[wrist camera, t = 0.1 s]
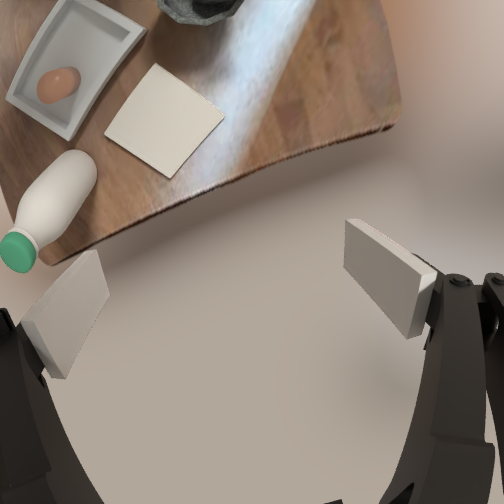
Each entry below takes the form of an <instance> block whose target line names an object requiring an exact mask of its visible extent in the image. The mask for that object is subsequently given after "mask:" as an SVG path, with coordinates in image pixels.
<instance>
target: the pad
mask: <svg viewBox="0 0 504 504" xmlns="http://www.w3.org/2000/svg"><path fill="white" fill-rule="evenodd" d="M224 117H225V114H224V113H223V112H221V111H220V110H219V109H218V108H216V107H215V106H214V105H213V104H211V103H210V102H209V101H207V100H206V99H205V98H204V97H202V96H201V95H200V94H198V93H197V92H196V91H194V90H193V89H192V88H190V87H189V86H188V85H186V84H185V83H184V82H182V81H181V80H180V79H178V78H177V77H175V76H174V75H173V74H171V73H170V72H168V71H167V70H166V69H164V68H163V67H161V66H160V65H158V64H157V63H155V64H154V65H153V66H152V68H151V69H150V70H149V71H148V72H147V74H146V75H145V76H144V77H143V79H142V80H141V81H140V83H139V84H138V85H137V87H136V88H135V89H134V91H133V92H132V93H131V95H130V96H129V97H128V99H127V100H126V102H125V103H124V104H123V106H122V107H121V109H120V110H119V112H118V113H117V115H116V116H115V118H114V119H113V121H112V122H111V124H110V125H109V127H108V128H107V130H106V132H105V133H104V135H106V136H107V137H109V138H110V139H112V140H113V141H115V142H116V143H118V144H119V145H121V146H122V147H124V148H125V149H127V150H128V151H130V152H131V153H133V154H134V155H136V156H137V157H139V158H140V159H142V160H143V161H145V162H146V163H148V164H149V165H151V166H152V167H154V168H155V169H157V170H158V171H160V172H161V173H163V174H164V175H165V176H167V177H168V178H171V177H172V176H173V175H174V173H175V172H176V171H177V170H178V169H179V167H180V166H181V165H182V164H183V163H184V161H185V160H186V159H187V158H188V157H189V156H190V154H191V153H192V152H193V151H194V150H195V149H196V148H197V146H198V145H199V144H200V143H201V142H202V141H203V140H204V139H205V137H206V136H207V135H208V134H209V133H210V132H211V131H212V130H213V129H214V128H215V127H216V125H217V124H218V123H219V122H220V121H221V120H222V119H223V118H224Z"/></svg>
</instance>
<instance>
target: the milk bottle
mask: <svg viewBox="0 0 504 504" xmlns="http://www.w3.org/2000/svg"><path fill="white" fill-rule="evenodd" d="M96 180H97V168H96V165H95V163H94V161H93V159H92V158H91V157H90V156H89V155H88V154H87V153H85V152H83V151H81V150H68V151H66V152H64V153H63V154H61V155H60V156H59V157H58V158H57V159H56V160H55V161H54V162H53V163H52V164H51V165H49V166H48V167H47V168H46V169H45V170H44V171H43V172H42V174H41V175H40V176H39V177H38V178H37V179H36V180H35V181H34V182H33V183H32V184H31V186H30V187H29V188H28V189H27V190H26V192H25V193H24V195H23V196H22V198H21V200H20V203H19V206H18V209H17V214H16V220H15V224H14V226H13V228H12V229H10V230H9V231H8V232H7V235H5V237H4V238H3V240H2V241H1V243H0V255H1V258H2V260H3V261H4V263H5V264H6V265H7V266H8V267H9V268H11V269H12V270H14V271H16V272H19V273H26V272H28V271H29V270H30V269H31V268H32V266H33V265H34V263H35V260H36V259H37V257H38V254H39V250H40V249H41V248H43V247H44V246H46V245H48V244H49V243H51V242H53V241H55V240H56V239H57V238H59V237H60V236H61V235H62V234H63V233H64V231H65V230H66V229H67V227H68V226H69V224H70V223H71V221H72V220H73V218H74V217H75V215H76V213H77V212H78V210H79V209H80V207H81V206H82V204H83V202H84V201H85V199H86V198H87V196H88V195H89V193H90V192H91V190H92V188H93V187H94V185H95V183H96Z"/></svg>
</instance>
